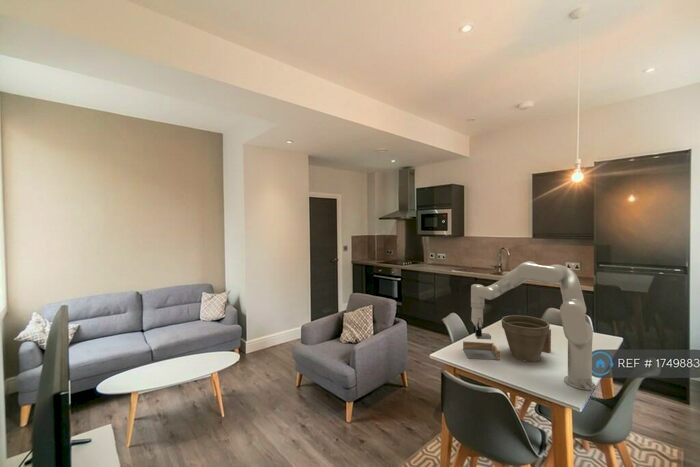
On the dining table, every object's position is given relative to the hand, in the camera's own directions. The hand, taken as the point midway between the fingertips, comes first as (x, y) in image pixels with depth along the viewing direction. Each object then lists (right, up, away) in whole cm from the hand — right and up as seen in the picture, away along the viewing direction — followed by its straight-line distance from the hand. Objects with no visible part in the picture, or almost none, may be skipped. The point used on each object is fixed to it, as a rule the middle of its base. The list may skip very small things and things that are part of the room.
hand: (477, 334), depth 185 cm
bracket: (+3, -2, 0) cm, 4 cm away
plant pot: (+27, -13, -3) cm, 30 cm away
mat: (+2, -13, +1) cm, 13 cm away
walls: (+2, -13, +1) cm, 13 cm away
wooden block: (+43, -12, +7) cm, 45 cm away
